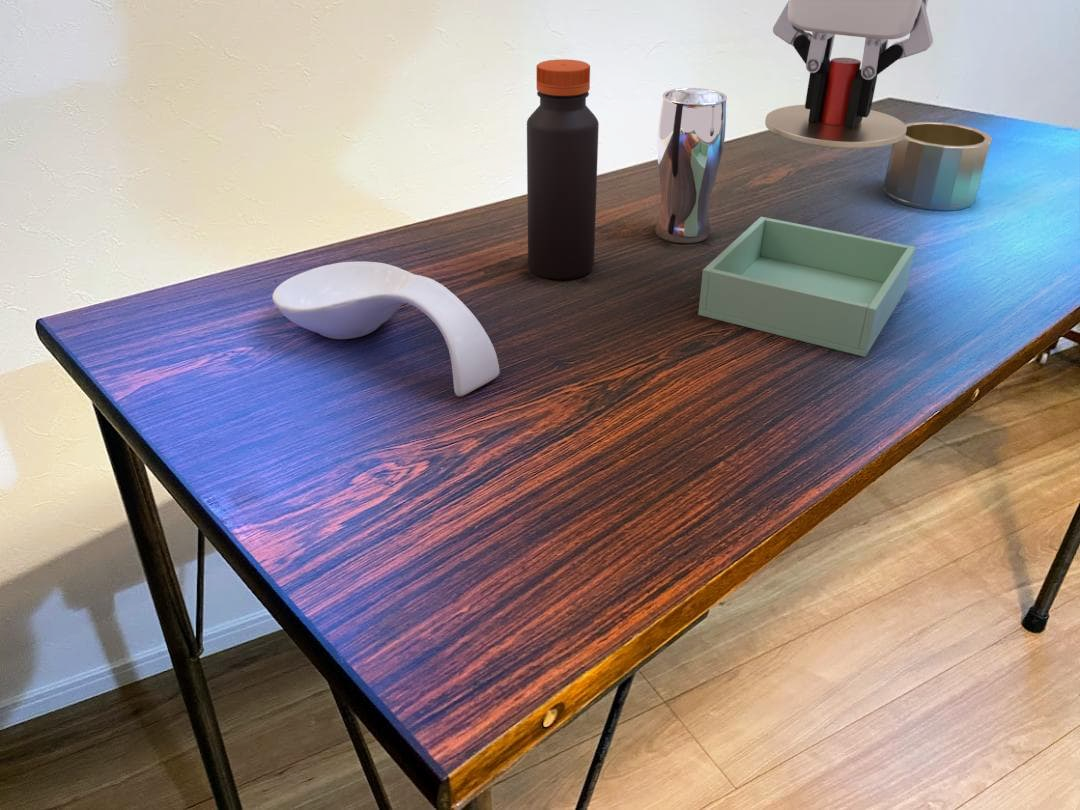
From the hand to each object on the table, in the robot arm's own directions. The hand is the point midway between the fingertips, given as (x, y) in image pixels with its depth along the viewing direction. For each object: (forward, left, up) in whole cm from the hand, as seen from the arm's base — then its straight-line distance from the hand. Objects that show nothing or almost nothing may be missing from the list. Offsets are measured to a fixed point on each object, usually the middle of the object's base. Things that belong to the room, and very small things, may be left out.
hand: (835, 119), depth 77 cm
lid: (0, 0, -1) cm, 1 cm away
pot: (-4, -37, -17) cm, 41 cm away
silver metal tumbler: (+17, -10, -17) cm, 26 cm away
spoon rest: (+29, +27, -17) cm, 43 cm away
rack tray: (0, 0, -17) cm, 17 cm away
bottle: (+24, +5, -17) cm, 30 cm away
